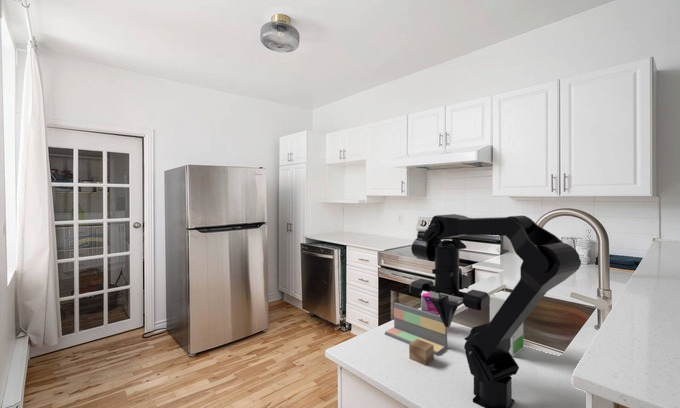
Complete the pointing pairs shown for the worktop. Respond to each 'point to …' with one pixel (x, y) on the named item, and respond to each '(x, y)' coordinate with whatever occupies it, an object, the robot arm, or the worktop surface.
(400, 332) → the tuner gauge
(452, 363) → the worktop surface
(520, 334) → the skincare box
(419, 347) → the block
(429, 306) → the supplement box
